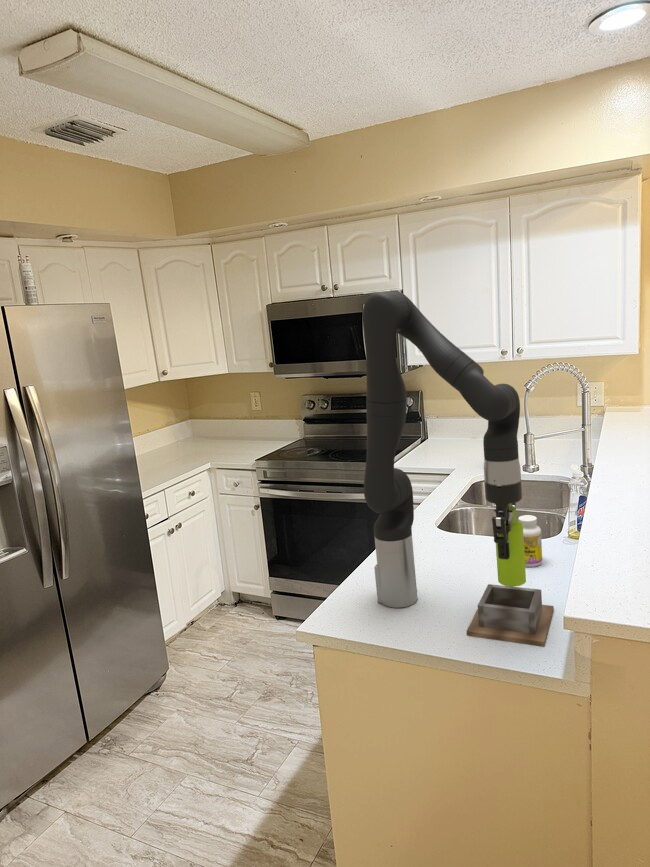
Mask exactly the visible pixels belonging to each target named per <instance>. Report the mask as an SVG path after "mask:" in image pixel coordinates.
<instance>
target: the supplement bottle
mask: <svg viewBox="0 0 650 867" xmlns="http://www.w3.org/2000/svg"><path fill="white" fill-rule="evenodd" d="M517 521H520V522H522V523H523V536H524V553H525V568H534V567H538V566H540V565H542V562H543V546H542V544H543V543H542V529H541V527H540V526H539V525H537V523H538V518H537V517H536V516H534V515H531V514H530V515H529V514H525V515H520V516H519V517H518V519H517Z"/></svg>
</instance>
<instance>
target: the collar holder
mask: <svg viewBox="0 0 650 867" xmlns="http://www.w3.org/2000/svg"><path fill="white" fill-rule="evenodd" d="M542 598H543V597H542V589H538V588H529V587H520V586H515V587H511V586H505V585H502V584H499V585H498V584H492V583H488V584H487V585H486V588H485V590H484V592H483V593H482V596H481V597H480V600H479V602H478V604H477V609H476V611H475V613H474V615H473V617H472V619H471V621H470V623H469V625H468V627H467V629H466V636H467V637H468V636H469V637H476V638H483V639H489V640H490V639H491V640H497V641H504V642H511V643H518V644H524V645H525V644H526V645H531V646H538V647H545V646H546V645H545V644H546V641H547V638H548V634H549V630H550V627H551V623H552V618H553V613H554V610H555V608H554V605H550V604H549V605H548V604H543V602H542V601H543V600H542Z"/></svg>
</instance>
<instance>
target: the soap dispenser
mask: <svg viewBox="0 0 650 867" xmlns="http://www.w3.org/2000/svg"><path fill="white" fill-rule="evenodd" d="M509 510H513V519H512V528H511V531H510V532H509V553H510V557H509V559H500V558H499V557H498V543H495V553H496V554H495V555H496V566H497V568H496V569H497V570H496V571H497V581H498V583H499V585H501V586H511V587H520V586H523V585H525V584H526V583H527V577H526V576H527V574H526V567H525V553H524V536H523V523H522V522H520V521H518V519H517V507H516V508H515V507H513V506H511V503H510V504H509ZM507 527H508V526H506V528H507ZM500 537H503V534H500Z"/></svg>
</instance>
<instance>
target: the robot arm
mask: <svg viewBox="0 0 650 867" xmlns="http://www.w3.org/2000/svg"><path fill="white" fill-rule="evenodd" d="M361 316H362V317H361V318H362V329H363V338H364V346H365V358H366V360H365V362H366V364H365V365H366V370H365V371H366V396H365V397H366V401H365V402H366V459H365V461H366V462H365V472H364V479H363V495H364V496H363V497H364V500H365V502H366V505H367V506H368V508H369V509H370V510H371V511H373V512H374V513H376V514H379V515H378V517H377V519H376V521H375V522H374V525H373V537H374V544H375V554H376V555H375V556H376V564H375V566H374V577H375V578H374V579H375V589H376V596H377V597H376V598H377V603H379V604H383V605H384V606H385V607H389V608H397V609H398V608H406V607H411V606H412V605H414V604H415V603H416V602H417V601H418V589H417V587H418V586H417V577H416V575H417V574H416V567H415V566H416V565H415V554H414V542H413V541H414V540H413V531H412V530H413V528H412V527H413V524H414V520H415V517H414V516H415V514H414V513H415V510H414V491H413V485H412V482H411V480H410V477H409V476H408V475H407V473H406V472H405V471H404V470H403V469H402V470H401V469H400V468H396V467H395V457H396V454H397V449H398V446H399V443H400V441H401V437H402V435H403V432H404V429H405V425H406V421H407V420H406V419H407V390H406V384H405V381H404V379H403V376H402V373H401V371H400V368H399V366H398V361H397V356H396V355H397V353H396V343H397V342H396V341H397V334H398V335H400V336H402V337H403V338H405V339H407V340H408V341H409V342H411V343H412V344H413V345H414V346H415V347H416V348H417V349H418V350H419V351H420V353H421V354H422V355H423V357H424V358H425V360H426V361H427V363H428V364H429V365H430V367H431V369H433V371H434V372H435V373H436V374H437V375H438V376H440V378H442V380H444V381H445V382H446V383H448V384H449V385H450V386H451V387H452V388H454V389H455V390H457V392H459V394H460V395H461V397H462V398H463V399H464V400H465V401H466V403H467V404H468V405H469V407H470V408H471V409H472V410H473V411H474V412H475V413H476V414H477V415H478V416H479V417H480V418H482V419H484V420H486V421H487V429H486V431H485V433H484V435H483V441H482V442H483V458H484V460H483V461H484V462H483V463H484V464H483V474H484V475H483V478H484V479H483V481H484V491H485V492H484V494H485V496H484V497H485V500H486V501H487V502H489V503H491V504H494V505H495V509H493V515H492V517H491V521H492V522H491V523H492V531H493V542H494V543H495V544H496V543H498V557H499V558H500V559H509V557H510V553H509V532H510V531H511V528H512V519H513V510H509V504H510V503H511V506H513V507H515V508H516V509H517V503H519V502H520V501H521V500H522V498H523V492H522V491H523V489H522V488H523V487H522V471H521V463H520V458H519V457H520V456H519V444H518V443H519V441H518V431H519V425H520V415H521V414H520V413H521V401H520V396H519V394H518V392H517V389H515V388H514V387H513V386H512V385H510V384H507V383H498V384H493V383H492V382H491V381H490V380H489V379H488V377H486V376H485V374H484V373H485V371H484V369H483V368H482V366H481V365H480V364H479V363H477V362H476V361H475V360H474V359H473V358H471V357H470V356H469V355H468V354H467V353H466V352H464V351H463V350H461V349H460V348H459V347H458V346H456V344H454V343H453V342H452V341H450V340H449V339H448V338H447V336H445V335H444V334H442V332H440V330H438V329H437V327H436V326H434V324H432V323H431V321H430V320H428V318H427V317H426V316H425V315H424V314H423V313H422V312H421V310H420V309H419V308H418V307H417V306H416V305H415V303H414V302H413V301H412V300H411V299H410V298H409V296H407V295H406V294H405V293H402V292H400V291H393V290H392V291H379V292H375V293H372V294H371V295H369V296H368V297H367V299H366V300H365V302H364V304H363V307H362V315H361ZM506 526H508V527H507V528H506ZM500 534H503V537H500Z"/></svg>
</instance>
